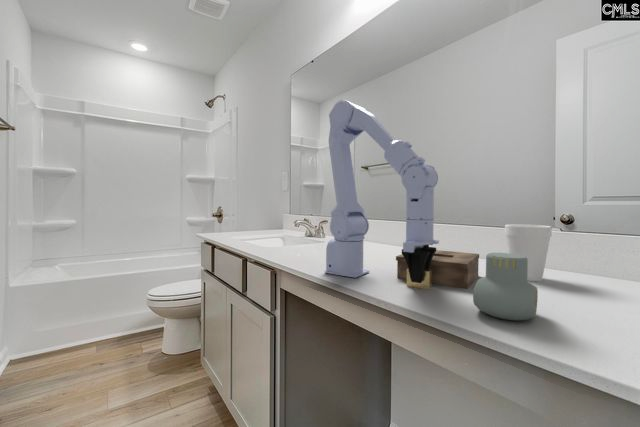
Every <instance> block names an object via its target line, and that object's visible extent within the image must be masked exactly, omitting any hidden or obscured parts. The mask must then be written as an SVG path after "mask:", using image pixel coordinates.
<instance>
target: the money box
mask: <svg viewBox="0 0 640 427" xmlns="http://www.w3.org/2000/svg"><path fill="white" fill-rule="evenodd" d="M479 259H480V253H471V252H464V251H463V252H462V251H451V250H439V249H436V252H435V254H434V256H433V258H432V260H431V263H430V267H429V270H432V284H436V285H442V286H448V287H449V286H450V287H456V288H461V289H462V288H463V289H469V288H470V286H471V285H472V284H473V283H474V281H476V279H477V278H478V277H479ZM395 261H397V264H396V265H397V266H396V267H397V270H396V271H397V273H396V274H397V276H396V278H397V279H404V280H407V268H408V266H407V263H406V260H405V258H404V256H403V255H402V253H401V254H398V255H396V256H395Z"/></svg>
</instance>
